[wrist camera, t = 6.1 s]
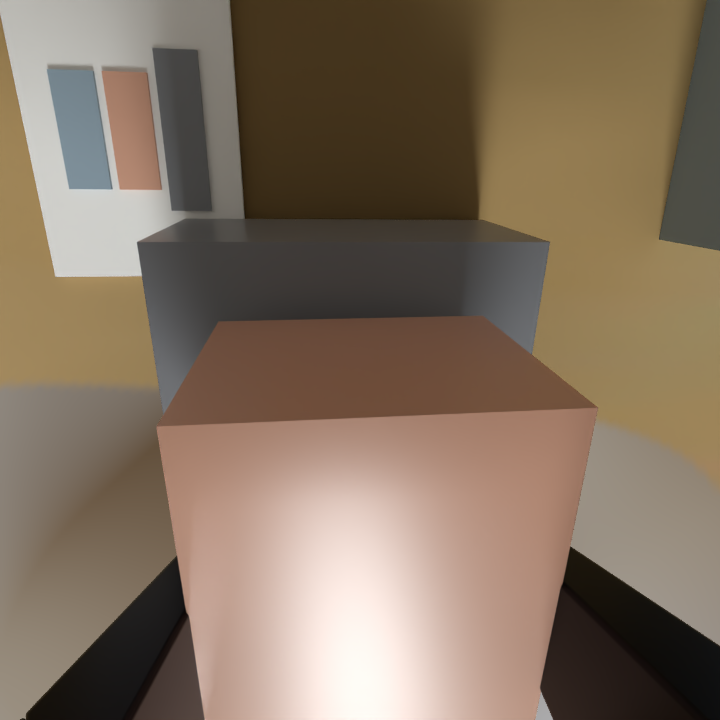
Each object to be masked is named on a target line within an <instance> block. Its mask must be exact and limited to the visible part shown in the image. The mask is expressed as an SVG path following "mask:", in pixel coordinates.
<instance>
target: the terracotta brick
mask: <svg viewBox="0 0 720 720" xmlns="http://www.w3.org/2000/svg"><path fill="white" fill-rule="evenodd" d="M597 411H598V407H597V406H595V405H594V404H593V403H591V402H590V401H589V400H588V399H586V398H585V397H584V396H583V395H581V394H580V393H579V392H578V391H576V390H575V389H574V388H573V387H571V386H570V385H569V384H568V383H566V382H565V381H564V380H563V379H561V378H560V377H559V376H558V375H556V374H555V373H554V372H553V371H551V370H550V369H549V368H548V367H546V366H545V365H544V364H543V363H541V362H540V361H539V360H538V359H536V358H535V357H534V356H533V355H531V354H530V353H529V352H528V351H526V350H525V349H524V348H523V347H521V346H520V345H519V344H518V343H516V342H515V341H514V340H513V339H511V338H510V337H509V336H508V335H506V334H505V333H504V332H503V331H501V330H500V329H499V328H498V327H496V326H495V325H494V324H493V323H491V322H490V321H489V320H488V319H486V318H485V317H484V316H442V317H397V318H352V319H307V320H261V321H218V323H217V325H216V327H215V328H214V330H213V332H212V333H211V335H210V337H209V338H208V340H207V342H206V343H205V345H204V347H203V349H202V350H201V352H200V354H199V355H198V357H197V359H196V360H195V362H194V364H193V366H192V367H191V369H190V371H189V372H188V374H187V376H186V377H185V379H184V381H183V382H182V384H181V386H180V388H179V389H178V391H177V393H176V394H175V396H174V398H173V399H172V401H171V403H170V404H169V406H168V408H167V410H166V411H165V413H164V415H163V416H162V418H161V420H160V421H159V423H158V425H157V433H158V439H159V446H160V452H161V458H162V464H163V470H164V477H165V483H166V489H167V495H168V502H169V508H170V514H171V520H172V526H173V533H174V539H175V545H176V552H177V558H178V564H179V570H180V577H181V583H182V589H183V595H184V602H185V608H186V613H187V614H188V615H189V619H190V626H191V632H192V639H193V645H194V652H195V659H196V665H197V672H198V678H199V685H200V692H201V698H202V705H203V712H204V718H205V720H535V718H536V713H537V708H538V703H539V698H540V693H541V690H540V685H541V680H542V675H543V670H544V665H545V660H546V656H547V651H548V646H549V641H550V636H551V631H552V627H553V622H554V617H555V612H556V607H557V602H558V597H559V593H560V588H561V586H562V584H563V579H564V574H565V569H566V564H567V560H568V555H569V550H570V544H571V540H572V534H573V530H574V525H575V520H576V515H577V510H578V505H579V500H580V495H581V490H582V485H583V480H584V475H585V470H586V465H587V460H588V455H589V450H590V445H591V440H592V436H593V431H594V426H595V421H596V416H597Z"/></svg>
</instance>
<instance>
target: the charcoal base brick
mask: <svg viewBox="0 0 720 720" xmlns="http://www.w3.org/2000/svg"><path fill="white" fill-rule="evenodd" d="M549 244H550V242H548V241H545V240H542V239H539V238H536V237H533V236H530V235H527V234H524V233H521V232H518V231H515V230H512V229H509V228H506V227H503V226H500V225H497V224H494V223H491V222H488V221H485V220H385V219H183V220H181V221H179V222H177V223H175V224H173V225H171V226H169V227H167V228H165V229H163V230H161V231H159V232H157V233H154V234H152V235H150V236H148V237H146V238H144V239H142V240H140V241H138V242H137V247H138V254H139V260H140V267H141V273H142V280H143V286H144V293H145V299H146V306H147V312H148V318H149V325H150V331H151V338H152V344H153V351H154V357H155V364H156V370H157V377H158V383H159V390H160V396H161V403H162V409H163V415H164V413H165V411H166V410H167V408H168V406H169V404H170V403H171V401H172V399H173V398H174V396H175V394H176V393H177V391H178V389H179V388H180V386H181V384H182V382H183V381H184V379H185V377H186V376H187V374H188V372H189V371H190V369H191V367H192V366H193V364H194V362H195V360H196V359H197V357H198V355H199V354H200V352H201V350H202V349H203V347H204V345H205V343H206V342H207V340H208V338H209V337H210V335H211V333H212V332H213V330H214V328H215V327H216V325H217V323H218V321H261V320H307V319H352V318H397V317H442V316H484V317H485V318H486V319H488V320H489V321H490V322H491V323H493V324H494V325H495V326H496V327H498V328H499V329H500V330H501V331H503V332H504V333H505V334H506V335H508V336H509V337H510V338H511V339H513V340H514V341H515V342H516V343H518V344H519V345H520V346H521V347H523V348H524V349H525V350H526V351H528V352H529V353H530V354H531V355H532V350H533V344H534V338H535V332H536V325H537V319H538V313H539V307H540V301H541V294H542V288H543V282H544V276H545V269H546V263H547V257H548V251H549Z"/></svg>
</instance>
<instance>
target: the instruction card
mask: <svg viewBox="0 0 720 720" xmlns="http://www.w3.org/2000/svg"><path fill="white" fill-rule="evenodd" d="M0 15H1V20H2V25H3V29H4V34H5V39H6V44H7V48H8V53H9V58H10V63H11V67H12V72H13V77H14V82H15V86H16V91H17V96H18V101H19V105H20V110H21V115H22V120H23V124H24V129H25V134H26V139H27V143H28V148H29V153H30V158H31V162H32V167H33V172H34V177H35V181H36V186H37V191H38V196H39V200H40V205H41V210H42V215H43V219H44V224H45V229H46V234H47V238H48V243H49V248H50V253H51V257H52V262H53V267H54V272H55V276H56V277H90V276H142V273H141V267H140V260H139V254H138V247H137V242H138V241H140V240H142V239H144V238H146V237H148V236H150V235H152V234H154V233H157V232H159V231H161V230H163V229H165V228H167V227H169V226H171V225H173V224H175V223H177V222H179V221H181V220H183V219H245V213H244V199H243V184H242V169H241V155H240V140H239V126H238V111H237V97H236V82H235V68H234V53H233V39H232V24H231V10H230V0H0Z"/></svg>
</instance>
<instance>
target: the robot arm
mask: <svg viewBox="0 0 720 720" xmlns="http://www.w3.org/2000/svg"><path fill="white" fill-rule="evenodd" d="M540 690H541V692H542V695H543V697H544V699H545V702H546V704H547V706H548V709H549V711H550V713H551V716H552V717H553V720H720V646H719V645H718V644H716V643H715V642H713V641H712V640H710V639H709V638H707V637H706V636H704V635H703V634H701V633H700V632H698V631H697V630H695V629H694V628H692V627H691V626H689V625H688V624H686V623H685V622H683V621H682V620H680V619H679V618H677V617H676V616H674V615H673V614H671V613H670V612H668V611H667V610H665V609H664V608H662V607H661V606H659V605H658V604H656V603H655V602H653V601H651V600H650V599H649V598H647V597H646V596H644V595H643V594H641V593H640V592H638V591H637V590H635V589H634V588H632V587H631V586H629V585H628V584H626V583H625V582H623V581H621V580H620V579H618V578H617V577H615V576H614V575H613V574H611V573H609V572H608V571H607V570H605V569H604V568H602V567H601V566H599V565H598V564H596V563H595V562H593V561H592V560H590V559H589V558H587V557H586V556H584V555H583V554H581V553H580V552H578V551H576V550H575V549H573V548H572V547H570V550H569V555H568V560H567V564H566V569H565V574H564V579H563V584H562V586H561V588H560V593H559V597H558V602H557V607H556V612H555V617H554V622H553V627H552V631H551V636H550V641H549V646H548V651H547V656H546V660H545V665H544V670H543V675H542V680H541V685H540ZM20 720H205V718H204V712H203V705H202V698H201V692H200V685H199V678H198V672H197V665H196V659H195V652H194V645H193V639H192V632H191V626H190V619H189V615H188V614H187V613H186V608H185V602H184V595H183V589H182V583H181V577H180V570H179V564H178V558H177V556H176V557H175V558H174V559H173V560H172V561H171V562H170V563H169V564H168V565H167V566H166V567H165V569H163V571H162V572H161V573H160V574H159V575H158V576H157V577H156V578H155V579H154V580H153V581H152V582H151V583H150V584H149V585H148V586H147V587H146V589H144V590H143V591H142V593H141V594H140V595H139V596H138V597H137V598H136V599H135V600H134V601H133V602H132V603H131V604H130V605H129V606H128V607H127V608H126V609H125V610H124V611H123V613H122V614H121V615H120V616H119V617H118V618H117V619H116V620H115V621H114V622H113V623H112V624H111V625H110V626H109V627H108V628H107V629H106V630H105V631H104V632H103V633H102V635H100V636H99V638H98V639H97V640H96V641H95V642H94V643H93V644H92V645H91V646H90V647H89V648H88V649H87V650H86V651H85V652H84V653H83V654H82V655H81V656H80V658H78V660H77V661H76V662H75V663H74V664H73V665H72V666H71V667H70V668H69V669H68V670H67V671H66V672H65V673H64V674H63V675H62V676H61V677H60V679H58V680H57V682H56V683H55V684H54V685H53V686H52V687H51V688H50V689H49V690H48V691H47V692H46V693H45V694H44V695H43V696H42V697H41V698H40V699H39V700H38V701H37V703H35V705H34V706H33V707H32V708H31V709H30V710H29V711H28V712H27V713H26V719H24V718H22V719H20Z"/></svg>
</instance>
